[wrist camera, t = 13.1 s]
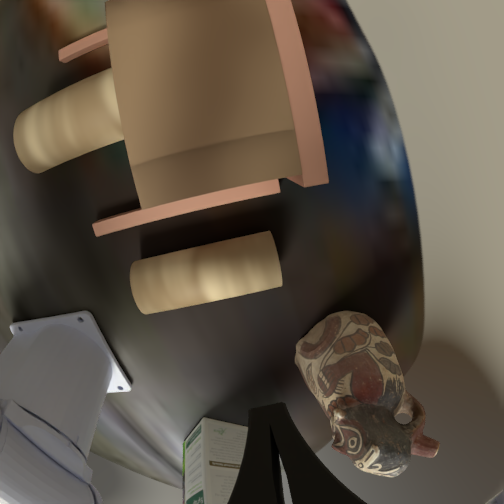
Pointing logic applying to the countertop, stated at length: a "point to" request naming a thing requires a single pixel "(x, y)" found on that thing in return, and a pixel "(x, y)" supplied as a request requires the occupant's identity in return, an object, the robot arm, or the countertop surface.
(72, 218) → the countertop surface
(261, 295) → the countertop surface
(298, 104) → the end wall and guide rails
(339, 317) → the figurine
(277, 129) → the block
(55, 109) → the dowel
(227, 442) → the syrup box
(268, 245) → the short dowel
